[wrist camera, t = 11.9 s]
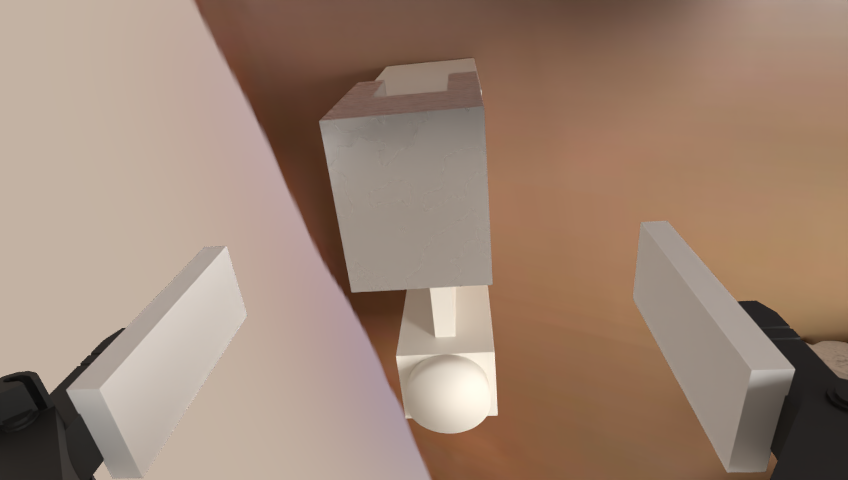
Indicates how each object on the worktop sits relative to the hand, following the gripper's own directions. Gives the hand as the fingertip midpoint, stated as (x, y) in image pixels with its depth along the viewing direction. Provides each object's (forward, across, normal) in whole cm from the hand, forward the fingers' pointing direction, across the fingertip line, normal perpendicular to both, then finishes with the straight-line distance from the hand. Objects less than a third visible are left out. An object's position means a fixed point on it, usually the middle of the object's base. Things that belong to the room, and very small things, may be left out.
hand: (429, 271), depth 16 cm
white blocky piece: (+29, +1, +9) cm, 30 cm away
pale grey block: (+15, +1, 0) cm, 15 cm away
